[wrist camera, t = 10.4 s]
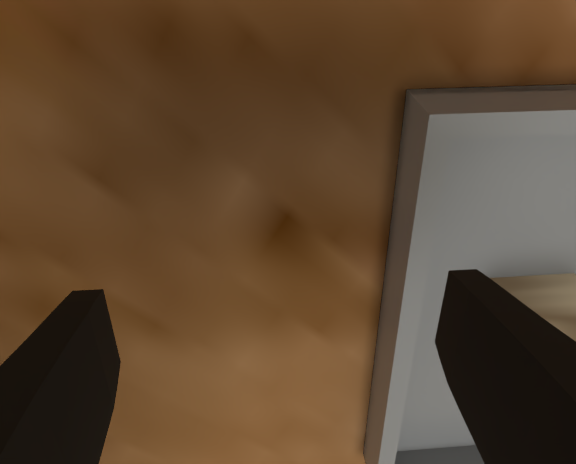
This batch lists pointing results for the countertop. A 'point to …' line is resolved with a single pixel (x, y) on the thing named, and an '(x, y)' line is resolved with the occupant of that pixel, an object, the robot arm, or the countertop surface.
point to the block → (547, 297)
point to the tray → (464, 243)
